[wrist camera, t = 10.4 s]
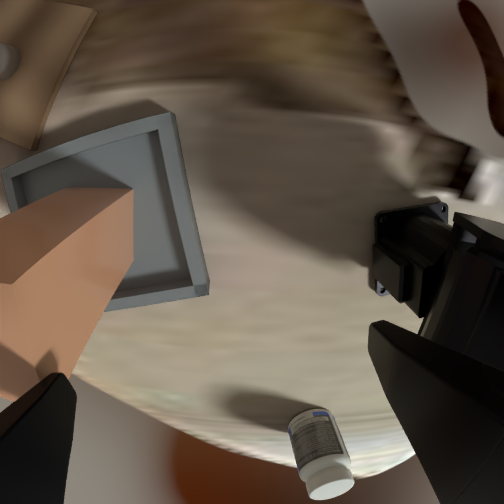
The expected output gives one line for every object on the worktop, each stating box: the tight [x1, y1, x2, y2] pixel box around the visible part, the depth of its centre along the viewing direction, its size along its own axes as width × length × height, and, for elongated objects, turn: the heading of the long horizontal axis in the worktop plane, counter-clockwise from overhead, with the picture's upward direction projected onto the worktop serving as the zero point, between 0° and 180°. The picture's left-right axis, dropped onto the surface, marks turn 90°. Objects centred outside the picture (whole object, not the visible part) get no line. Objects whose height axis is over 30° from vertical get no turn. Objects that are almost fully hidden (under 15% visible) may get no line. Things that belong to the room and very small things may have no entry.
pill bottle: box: [288, 409, 354, 500], centre depth 24 cm, size 5×5×8 cm
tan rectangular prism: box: [0, 187, 134, 401], centre depth 12 cm, size 6×5×13 cm
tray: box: [1, 112, 210, 312], centre depth 18 cm, size 12×11×2 cm
